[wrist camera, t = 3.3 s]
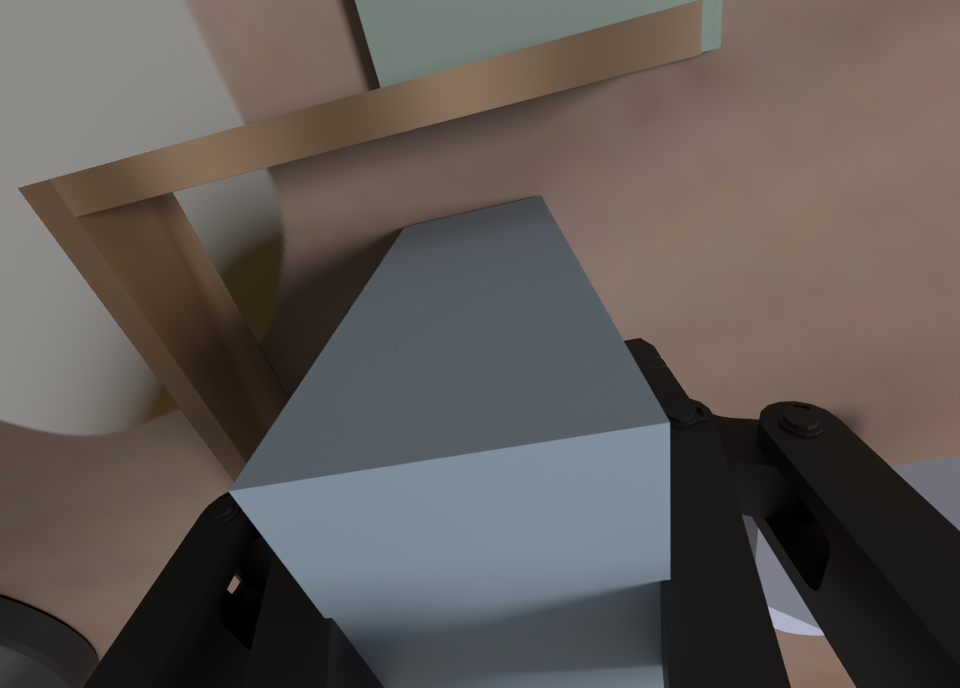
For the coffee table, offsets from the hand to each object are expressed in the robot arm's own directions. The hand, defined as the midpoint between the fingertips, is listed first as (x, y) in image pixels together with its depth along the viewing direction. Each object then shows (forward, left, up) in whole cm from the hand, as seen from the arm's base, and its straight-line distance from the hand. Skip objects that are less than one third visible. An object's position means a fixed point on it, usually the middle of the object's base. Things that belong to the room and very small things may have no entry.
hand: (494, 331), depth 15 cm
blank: (0, 0, -2) cm, 2 cm away
